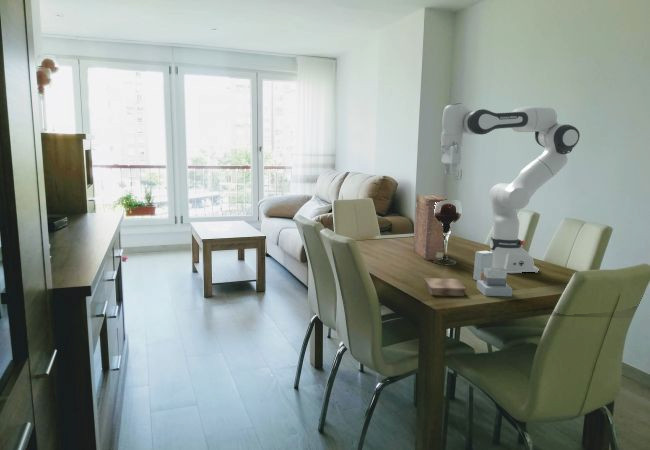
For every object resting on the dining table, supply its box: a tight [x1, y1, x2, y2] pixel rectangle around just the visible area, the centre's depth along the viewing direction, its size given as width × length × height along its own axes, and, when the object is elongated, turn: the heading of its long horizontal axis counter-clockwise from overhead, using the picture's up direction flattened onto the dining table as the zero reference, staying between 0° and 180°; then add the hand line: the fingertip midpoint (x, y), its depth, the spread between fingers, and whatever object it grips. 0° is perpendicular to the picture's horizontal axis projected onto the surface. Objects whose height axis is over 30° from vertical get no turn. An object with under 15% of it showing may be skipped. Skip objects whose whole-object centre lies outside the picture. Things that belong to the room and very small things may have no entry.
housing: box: [483, 267, 508, 286], centre depth 179 cm, size 7×4×6 cm, turn 89°
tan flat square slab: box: [423, 277, 467, 297], centre depth 180 cm, size 13×13×3 cm
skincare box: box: [472, 250, 493, 281], centre depth 196 cm, size 6×4×12 cm
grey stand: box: [476, 280, 513, 297], centre depth 180 cm, size 10×10×3 cm
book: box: [413, 194, 448, 261], centre depth 241 cm, size 25×9×30 cm, turn 2°
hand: (449, 174), depth 205 cm, fingers open, 8 cm apart
